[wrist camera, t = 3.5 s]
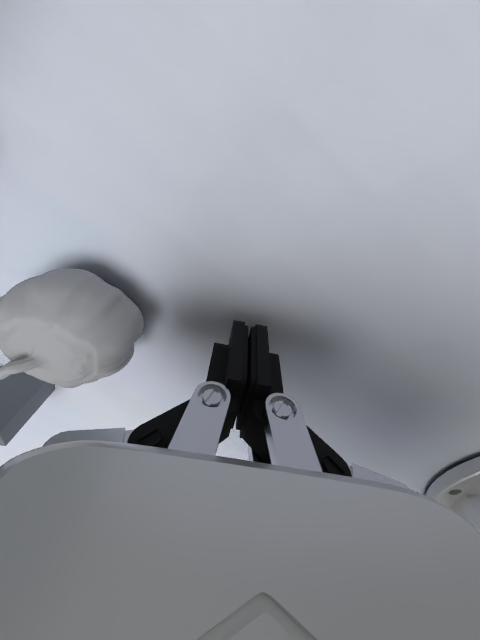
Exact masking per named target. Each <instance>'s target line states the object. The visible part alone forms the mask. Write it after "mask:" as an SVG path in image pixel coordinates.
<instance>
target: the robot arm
mask: <svg viewBox="0 0 480 640" xmlns="http://www.w3.org/2000/svg"><path fill="white" fill-rule="evenodd" d="M236 416H237V420H236V429H237V430H240V438H243V439H244V440H245V442H246V443H247V444H248V445H249V446H248V455H249V461H247V460H240V459H234V458H227V457H220V456H215V455H216V451H217V448H218V444H219V443H220V442H222V441H223V440H224V439H226V438H227V437H228V436H229V433H230V430H231V429H233V426H234V423H235V419H236ZM0 640H480V456H479V457H475V458H473V459H471V460H468V461H466V462H463V463H461V464H459V465H457V466H455V467H453V468H452V469H450V470H448V471H446V472H445V473H444V474H442V475H441V476H440V477H438V478H437V479H436V480H435V481H434V482H433V483H432V484H431V485H430V487H429V489H428V491H427V492H426V496H425V495H423V494H420V493H418V492H415V491H412V490H410V489H409V488H408V487H407V486H406V485H404V484H402V483H400V482H398V481H396V480H393V479H390V478H388V477H385V476H383V475H380V474H378V473H375V472H372V471H370V470H367V469H365V468H362V467H360V466H357V465H354V464H352V465H351V466H349V465H347V463H346V462H345V461H344V460H343V459H342V458H341V457H340V456H339V455H338V454H337V453H336V452H335V451H334V450H333V449H332V448H331V447H330V446H328V445H327V444H326V443H325V442H324V441H323V440H322V439H321V438H320V437H319V436H318V435H316V434H315V433H314V432H313V431H312V430H311V429H310V428H309V427H308V426H307V425H306V424H305V421H304V418H303V415H302V412H301V410H300V407H299V405H298V403H297V402H296V401H295V400H294V399H293V398H291V397H290V396H288V395H286V394H284V393H283V385H282V378H281V370H280V362H279V356H278V354H273V353H269V343H268V332H267V326H262V325H257V324H256V326H255V327H251V329H250V333H249V337H248V326H247V325H245V322H241V321H236V320H234V322H233V327H232V331H231V336H230V340H229V345H224V344H219V343H214V347H213V352H212V357H211V361H210V366H209V371H208V376H207V380H206V382H204V383H201V384H200V385H198V386H197V388H196V389H195V391H194V393H193V395H192V397H191V399H190V400H188V401H186V402H184V403H182V404H180V405H178V406H176V407H174V408H172V409H171V410H169V411H167V412H165V413H163V414H161V415H159V416H157V417H155V418H153V419H151V420H150V421H148V422H146V423H144V424H142V425H140V426H139V427H137V428H136V429H134V430H127V431H125V428H112V429H94V430H76V431H66V432H61V433H59V434H57V435H55V436H53V437H51V438H50V439H49V440H48V441H47V442H45V444H44V445H43V447H40V448H37V449H34V450H31V451H28V452H25V453H23V454H20V455H18V456H16V457H14V458H12V459H10V460H9V461H7V462H6V463H4V464H3V465H2V466H0Z"/></svg>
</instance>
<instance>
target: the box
mask: <svg viewBox="0 0 480 640" xmlns="http://www.w3.org/2000/svg"><path fill="white" fill-rule="evenodd" d="M54 390H55V388H54V384H51V383H48V382H45V381H42V380H40V379H37V378H35V377H33V376H31V375H28V374H26V373H25V372H21V373H17V374H11V375H9V376H8V377H7V378H5V379H2V380H0V445H3V446H6V445H7V444H8V443H9V442H10V440H11V439H12V438H13V437H14V436H15V435H16V433H17V432H18V431H19V430H20V429H21V428H22V427H23V425H24V424H25V423H26V422H27V421H28V420H29V419H30V417H31V416H32V415H33V414H34V413H35V412H36V411H37V409H38V408H39V407H40V406H41V405H42V404H43V403H44V401H45V400H46V399H47V398H48V397H49V396H50V394H51V393H52V392H53V391H54Z"/></svg>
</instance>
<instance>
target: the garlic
mask: <svg viewBox="0 0 480 640" xmlns="http://www.w3.org/2000/svg"><path fill="white" fill-rule="evenodd" d="M143 326H144V321H143V316H142V314H141V312H140V310H139V308H138V307H137V306H136V305H135V304H134V303H133V301H132V300H131V299H129V298H128V297H127V296H126V295H125V294H124V293H123V292H122V291H121V290H120V289H118V288H116V287H113V286H111V285H109V284H108V283H106V282H104V281H103V280H102V279H101V278H99V277H98V276H96V275H95V274H93V273H91V272H89V271H86V270H82V269H56V270H52V271H49V272H47V273H45V274H43V275H40V276H36V277H32V278H29V279H27V280H25V281H22V282H20V283H19V284H17V285H15V286H14V287H13V288H11V289H10V290H9V291H8V292H7V294H6V295H4V296H2V297H0V348H1V350H2V352H3V354H4V355H5V356H6V357H8V358H9V359H10V360H11V361H10V362H8V363H7V364H5V365H4V366H0V380H2V379H5V378H7V377H8V376H9V375H11V374H17V373H21V372H25V373H26V374H28V375H31V376H33V377H35V378H37V379H40V380H42V381H45V382H48V383H51V384H55V385H58V386H61V387H65V388H74V387H77V386H80V385H81V384H84V383H90V382H94V381H97V380H99V379H100V378H103V377H107V376H110V375H112V374H114V373H116V372H118V371H119V370H121V369H122V368H124V367H125V366H126V365H127V364H128V362H129V361H130V359H131V358H132V356H133V353H134V342H135V341H136V340H137V339H138V338H139V336H140V335H141V333H142V331H143Z"/></svg>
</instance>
